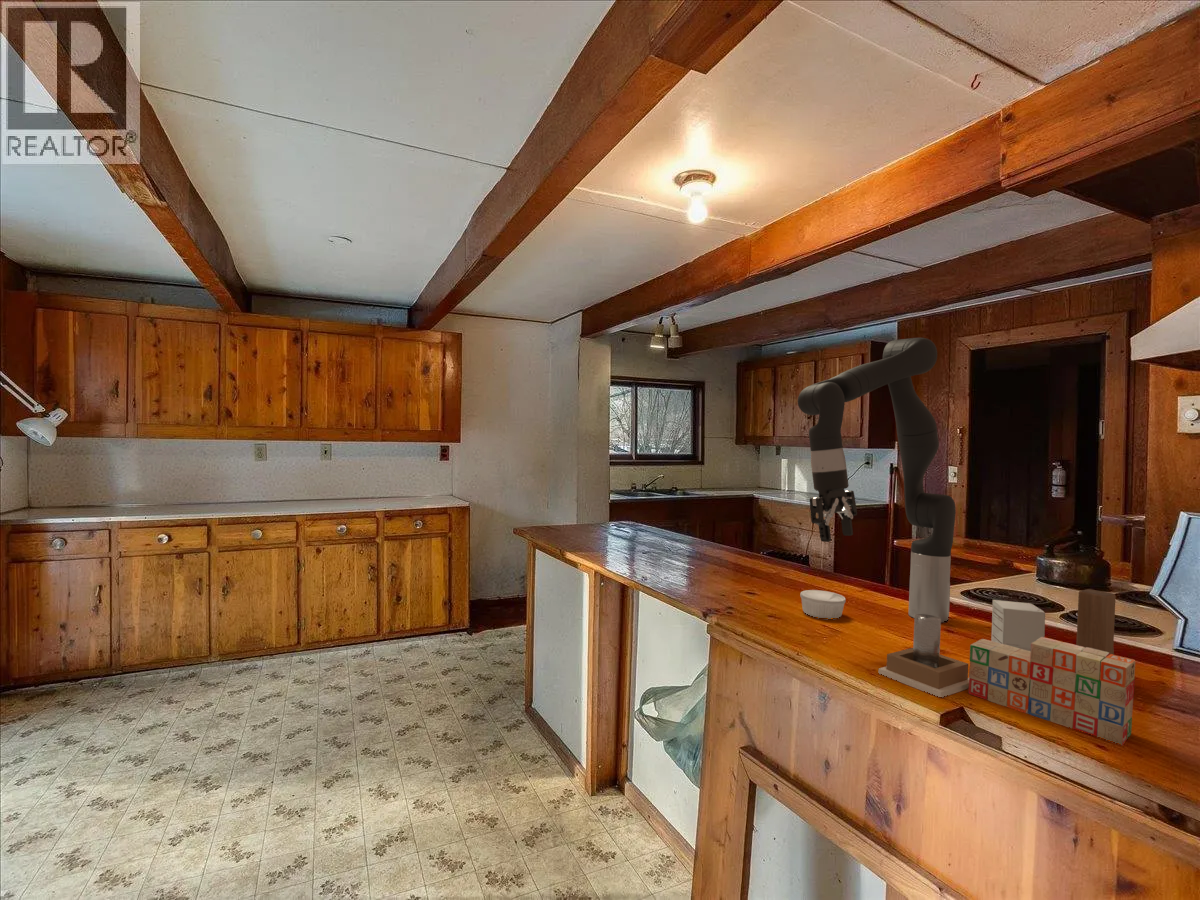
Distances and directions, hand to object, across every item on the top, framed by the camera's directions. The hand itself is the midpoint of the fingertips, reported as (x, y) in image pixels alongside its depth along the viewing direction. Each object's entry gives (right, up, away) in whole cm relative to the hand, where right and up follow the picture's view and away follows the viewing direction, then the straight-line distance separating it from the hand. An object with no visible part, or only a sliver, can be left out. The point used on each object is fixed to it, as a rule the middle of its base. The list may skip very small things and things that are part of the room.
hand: (837, 538), depth 132 cm
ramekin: (+4, -24, +20) cm, 31 cm away
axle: (+8, -23, -22) cm, 33 cm away
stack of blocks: (+21, -25, -35) cm, 48 cm away
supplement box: (+32, -25, -12) cm, 43 cm away
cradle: (+8, -24, -22) cm, 34 cm away
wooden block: (+43, -25, -20) cm, 54 cm away
